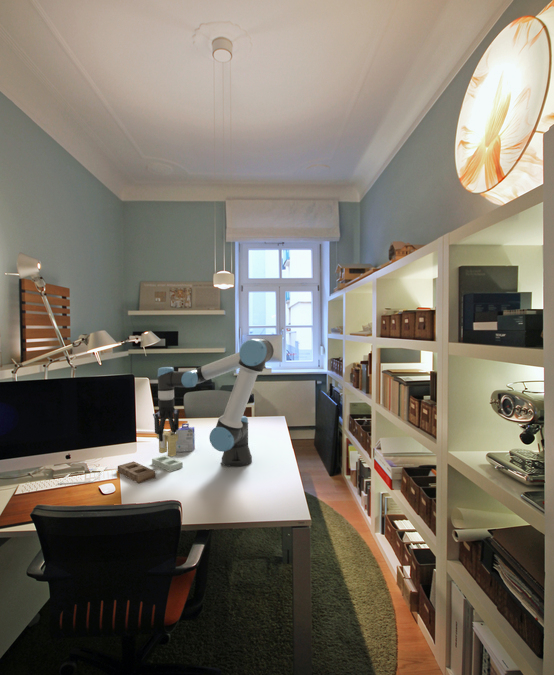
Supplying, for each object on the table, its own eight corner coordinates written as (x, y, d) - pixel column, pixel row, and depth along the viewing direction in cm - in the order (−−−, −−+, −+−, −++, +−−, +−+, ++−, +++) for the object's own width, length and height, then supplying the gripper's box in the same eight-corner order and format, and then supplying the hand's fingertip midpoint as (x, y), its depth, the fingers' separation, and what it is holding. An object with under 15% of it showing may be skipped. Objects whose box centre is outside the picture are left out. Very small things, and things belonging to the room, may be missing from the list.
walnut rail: (155, 477, 166) (155, 471, 166) (138, 483, 160) (138, 476, 160) (133, 467, 179) (133, 461, 179) (117, 472, 173) (117, 465, 173)
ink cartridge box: (195, 448, 209) (194, 422, 209) (193, 451, 203) (193, 425, 203) (177, 449, 208) (176, 423, 208) (175, 452, 202) (175, 425, 202)
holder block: (182, 467, 179) (182, 462, 179) (169, 471, 173) (169, 466, 173) (164, 460, 189) (164, 455, 189) (152, 463, 184) (152, 458, 184)
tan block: (178, 455, 179) (177, 434, 179) (170, 457, 176) (169, 436, 176) (164, 450, 187) (164, 430, 187) (157, 452, 184) (156, 432, 184)
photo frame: (107, 466, 179) (93, 480, 162) (107, 468, 179) (93, 483, 162) (75, 468, 178) (57, 482, 160) (75, 470, 178) (57, 485, 160)
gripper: (177, 395, 190) (178, 440, 190) (145, 400, 177) (146, 449, 177) (185, 397, 185) (186, 443, 185) (153, 402, 172) (155, 452, 172)
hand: (167, 446), depth 181 cm, fingers closed on tan block, 4 cm apart
